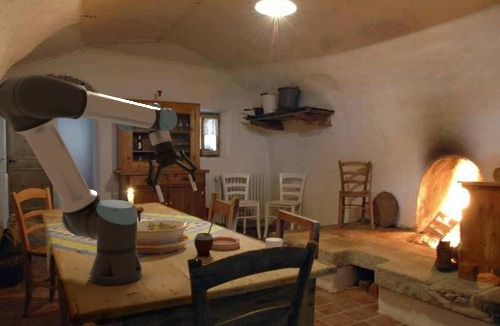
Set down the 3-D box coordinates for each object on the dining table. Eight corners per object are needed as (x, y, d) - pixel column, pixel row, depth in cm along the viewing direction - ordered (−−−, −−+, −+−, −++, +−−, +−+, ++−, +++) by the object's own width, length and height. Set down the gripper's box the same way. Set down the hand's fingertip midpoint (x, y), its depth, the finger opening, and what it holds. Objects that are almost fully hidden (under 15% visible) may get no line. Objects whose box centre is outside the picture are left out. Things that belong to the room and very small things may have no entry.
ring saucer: (219, 252, 151) (219, 246, 151) (199, 244, 161) (199, 239, 161) (246, 246, 160) (246, 241, 160) (225, 239, 171) (225, 235, 171)
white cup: (281, 260, 141) (282, 242, 141) (263, 259, 143) (263, 240, 143) (283, 255, 148) (284, 237, 148) (266, 254, 150) (266, 236, 149)
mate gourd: (190, 254, 146) (191, 215, 145) (206, 251, 152) (207, 213, 151) (203, 259, 141) (204, 218, 140) (219, 255, 147) (220, 216, 146)
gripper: (194, 133, 150) (211, 185, 148) (136, 154, 152) (152, 205, 151) (189, 131, 142) (207, 186, 141) (128, 153, 145) (144, 207, 143)
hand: (178, 196), depth 146 cm, fingers open, 13 cm apart
